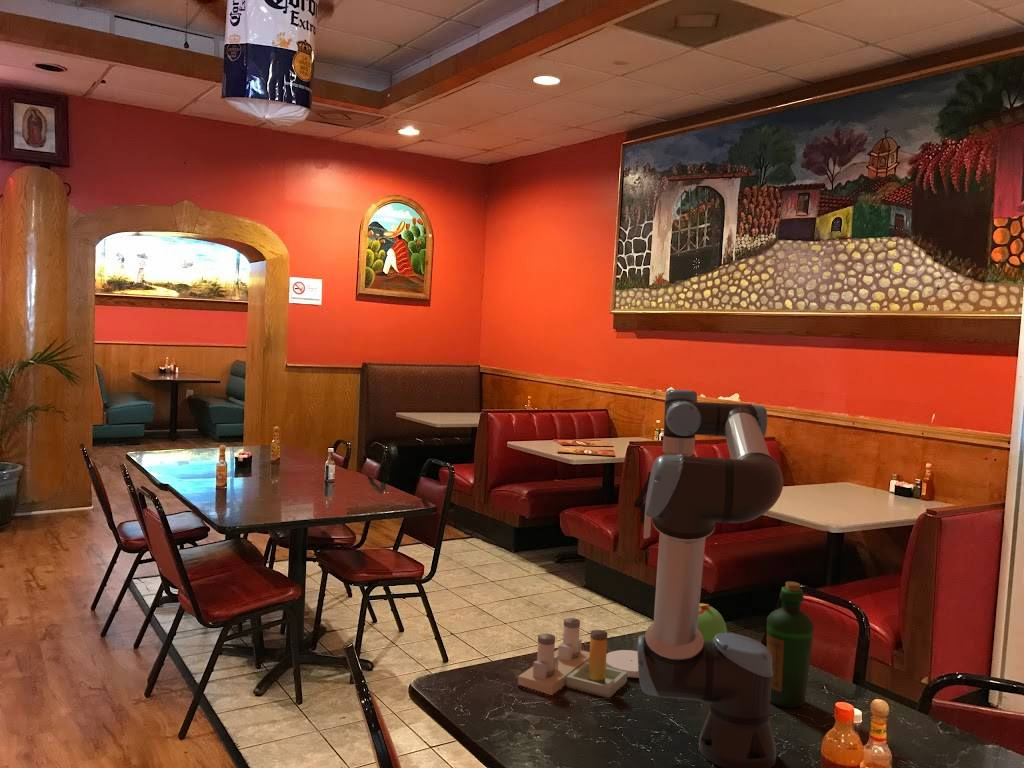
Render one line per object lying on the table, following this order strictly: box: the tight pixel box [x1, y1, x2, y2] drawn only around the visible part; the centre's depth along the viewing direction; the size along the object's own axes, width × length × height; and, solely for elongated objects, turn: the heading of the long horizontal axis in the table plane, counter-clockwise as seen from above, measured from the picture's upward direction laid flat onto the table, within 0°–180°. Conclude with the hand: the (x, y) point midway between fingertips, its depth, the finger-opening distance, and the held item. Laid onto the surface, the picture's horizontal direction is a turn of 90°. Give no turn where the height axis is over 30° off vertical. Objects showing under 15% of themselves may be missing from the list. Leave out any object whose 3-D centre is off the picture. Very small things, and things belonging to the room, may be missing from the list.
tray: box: [565, 662, 628, 699], centre depth 202 cm, size 11×11×2 cm
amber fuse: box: [588, 629, 608, 684], centre depth 202 cm, size 4×4×12 cm
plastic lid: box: [606, 649, 639, 679], centre depth 213 cm, size 14×14×2 cm
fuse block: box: [517, 617, 590, 696], centre depth 207 cm, size 24×9×12 cm, turn 150°
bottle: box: [766, 581, 815, 709], centre depth 196 cm, size 11×11×28 cm
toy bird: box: [697, 602, 728, 642], centre depth 223 cm, size 18×17×15 cm
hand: (673, 541), depth 203 cm, fingers open, 13 cm apart
